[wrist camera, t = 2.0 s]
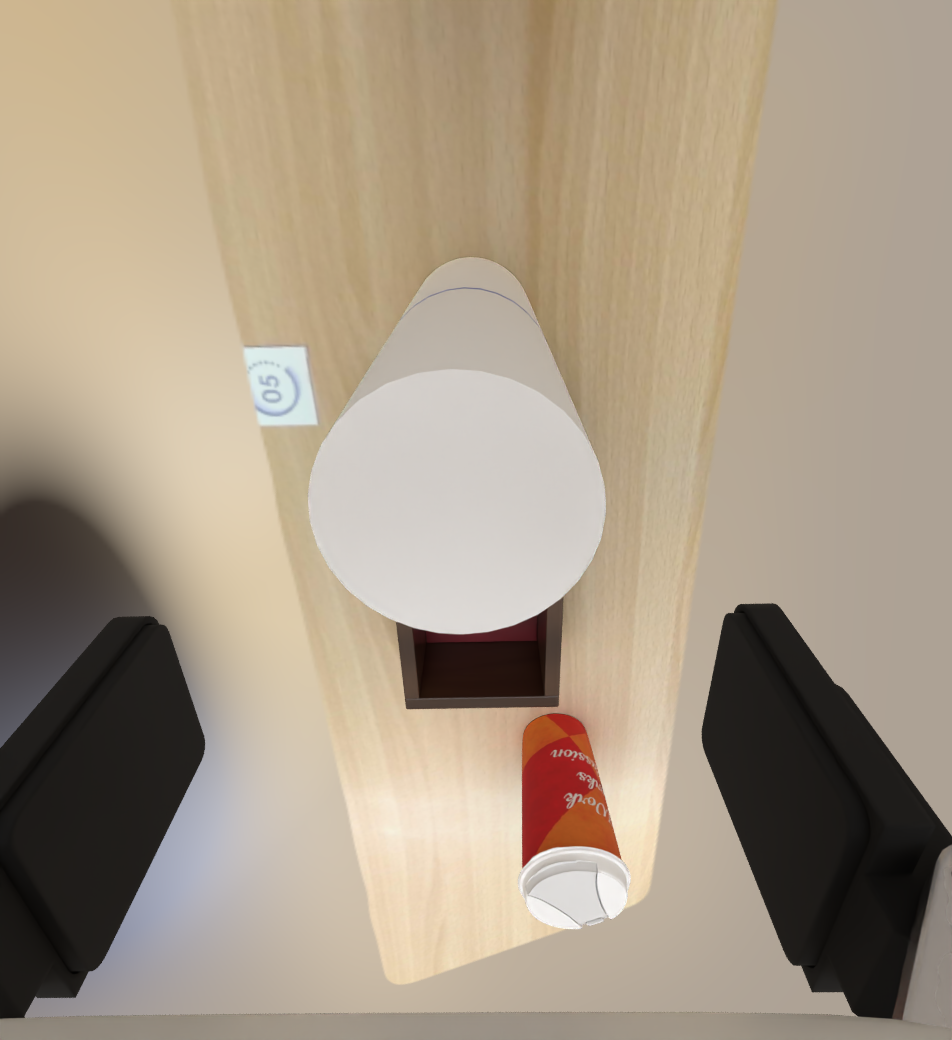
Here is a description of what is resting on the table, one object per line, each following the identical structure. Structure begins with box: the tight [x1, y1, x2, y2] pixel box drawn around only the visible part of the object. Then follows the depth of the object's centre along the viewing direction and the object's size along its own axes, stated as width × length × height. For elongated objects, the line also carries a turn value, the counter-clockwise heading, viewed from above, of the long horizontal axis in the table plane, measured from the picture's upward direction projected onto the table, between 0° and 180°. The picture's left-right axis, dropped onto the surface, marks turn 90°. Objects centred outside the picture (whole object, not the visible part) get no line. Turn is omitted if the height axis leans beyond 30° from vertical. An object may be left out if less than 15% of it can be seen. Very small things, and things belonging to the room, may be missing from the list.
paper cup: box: [518, 714, 630, 929], centre depth 47 cm, size 8×8×14 cm
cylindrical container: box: [308, 257, 606, 634], centre depth 26 cm, size 7×7×25 cm
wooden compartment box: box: [396, 597, 563, 709], centre depth 41 cm, size 20×10×7 cm, turn 2°
